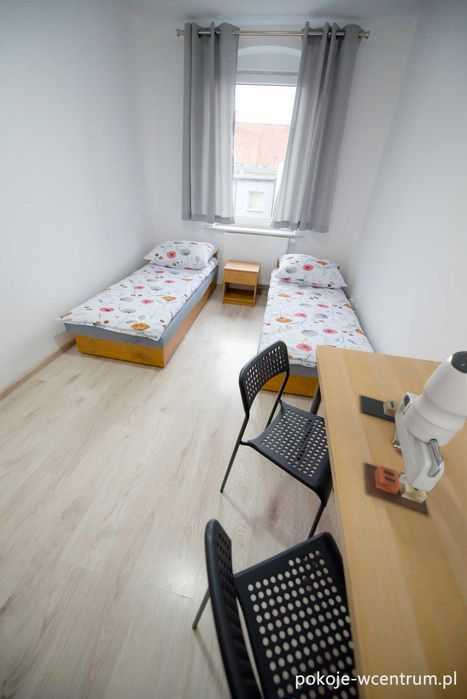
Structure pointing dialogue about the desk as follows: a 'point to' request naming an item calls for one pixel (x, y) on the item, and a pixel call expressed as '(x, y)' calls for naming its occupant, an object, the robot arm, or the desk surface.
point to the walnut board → (390, 496)
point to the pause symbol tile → (387, 479)
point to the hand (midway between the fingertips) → (398, 462)
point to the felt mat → (375, 408)
